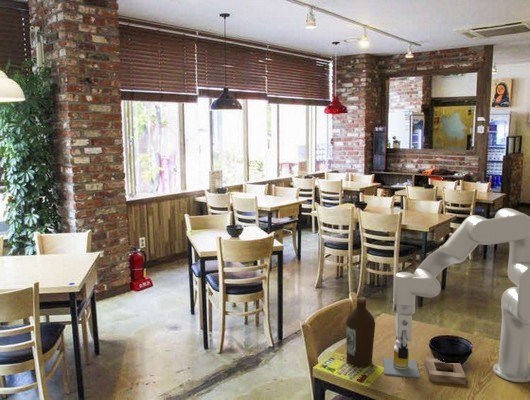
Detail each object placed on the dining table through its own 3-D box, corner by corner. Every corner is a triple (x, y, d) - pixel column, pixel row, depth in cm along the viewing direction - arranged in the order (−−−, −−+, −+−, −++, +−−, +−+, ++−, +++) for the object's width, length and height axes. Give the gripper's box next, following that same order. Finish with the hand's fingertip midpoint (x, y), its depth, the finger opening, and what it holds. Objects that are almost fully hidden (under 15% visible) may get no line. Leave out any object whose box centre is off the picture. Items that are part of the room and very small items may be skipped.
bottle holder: (458, 367, 173) (459, 360, 172) (465, 384, 161) (466, 377, 161) (424, 364, 175) (424, 357, 174) (429, 380, 163) (429, 374, 163)
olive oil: (364, 353, 183) (367, 291, 179) (379, 366, 173) (381, 301, 169) (340, 357, 180) (341, 294, 176) (353, 370, 170) (355, 304, 166)
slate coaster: (415, 362, 176) (415, 360, 176) (419, 378, 165) (419, 376, 165) (383, 358, 179) (383, 357, 179) (384, 374, 167) (384, 373, 167)
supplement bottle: (408, 370, 169) (410, 345, 167) (393, 369, 170) (394, 343, 168) (407, 363, 174) (408, 338, 173) (392, 362, 175) (393, 337, 174)
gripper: (417, 317, 159) (415, 364, 162) (412, 299, 176) (409, 342, 178) (394, 315, 161) (392, 362, 163) (391, 298, 177) (389, 340, 180)
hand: (401, 352), depth 171 cm, fingers open, 9 cm apart
